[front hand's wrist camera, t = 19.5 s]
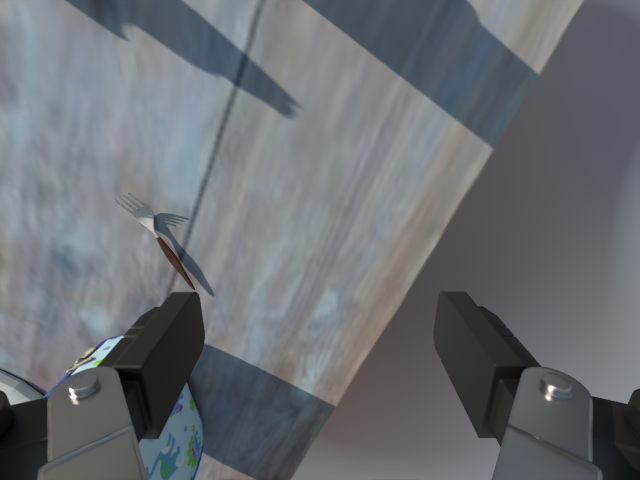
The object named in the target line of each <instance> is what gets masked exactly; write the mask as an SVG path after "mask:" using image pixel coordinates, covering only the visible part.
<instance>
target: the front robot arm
mask: <svg viewBox="0 0 640 480" xmlns="http://www.w3.org/2000/svg"><path fill="white" fill-rule="evenodd" d="M204 340H205V331H204V324H203V317H202V310H201V303H200V297H199V294H198V293H197V292H173V293H171V294H170V296H169V297H168V298H167V299H166V300H165V302H164V303H163V304H162V305H161V307H155V308H153V309H151V310H150V311H148V312H147V313H145V314H143V315H142V316H141V317H140V318H139V319H138V320H137V321H136V322H135V323H134V325H133V326H132V328H131V329H129V330H128V331H127V333H126V334H125V335H124V338H121V339H120V340H119V342H118V343H117V344H116V345H115V346H114V347H113V348H112V350H111V351H110V352H109V353H108V354H107V355H106V356H105V358H104V359H103V360H102V361H101V362H100V363H99V364H98V366H97V367H93V368H89V369H85V370H82V371H80V372H77V373H75V374H73V375H71V376H69V377H68V378H66V379H65V380H63V381H62V382H60V383H59V384H58V385H57V386H56V387H55V388H54V389H53V390H52V391H51V393H50V394H49V397H45V398H41V399H36V400H32V401H27V402H23V403H18V404H14V405H10V402H9V400H8V397H7V395H6V393H5V392H3V391H1V390H0V480H148V477H147V473H146V470H145V466H144V463H143V459H142V455H141V452H140V448H139V443H140V441H141V439H159V437H160V435H161V433H162V431H163V429H164V427H165V425H166V423H167V421H168V419H169V417H170V415H171V413H172V411H173V409H174V407H175V405H176V403H177V401H178V399H179V397H180V395H181V393H182V391H183V388H184V386H185V384H186V382H187V380H188V378H189V376H190V374H191V372H192V370H193V368H194V366H195V364H196V362H197V360H198V358H199V356H200V354H201V352H202V350H203V346H204ZM434 344H435V348H436V351H437V353H438V355H439V357H440V359H441V361H442V363H443V365H444V367H445V369H446V371H447V373H448V375H449V377H450V380H451V382H452V384H453V386H454V388H455V390H456V392H457V394H458V396H459V398H460V400H461V402H462V404H463V406H464V408H465V410H466V412H467V414H468V416H469V418H470V420H471V423H472V425H473V427H474V429H475V431H476V433H477V435H478V437H479V438H496V439H497V441H498V443H499V445H500V447H501V448H500V452H499V456H498V459H497V463H496V466H495V470H494V473H493V477H492V480H640V389H637V390H635V391H634V392H633V393H632V395H631V398H630V400H629V402H628V404H624V403H619V402H615V401H611V400H606V399H602V398H597V397H593V396H591V395H590V393H589V391H588V390H587V389H586V388H585V387H584V386H583V385H582V384H581V383H580V382H578V381H577V380H575V379H574V378H572V377H571V376H569V375H567V374H565V373H563V372H560V371H558V370H555V369H551V368H547V367H541V366H540V364H539V363H538V362H537V361H536V360H535V359H534V358H533V356H532V355H531V354H530V353H529V352H528V351H527V350H526V348H525V347H524V346H523V345H522V344H521V343H520V341H519V340H518V339H517V338H516V337H514V335H513V333H512V332H511V331H510V330H509V329H508V328H506V325H505V324H504V323H503V322H502V321H501V320H500V318H499V317H498V316H497V315H495V314H494V313H492V312H491V311H489V310H487V309H486V308H484V307H482V306H477V305H476V304H475V303H474V301H473V300H472V299H471V298H470V296H469V295H468V294H467V293H466V292H464V291H442V292H441V293H440V294H439V297H438V304H437V311H436V318H435V325H434Z"/></svg>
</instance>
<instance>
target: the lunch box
mask: <svg viewBox="0 0 640 480" xmlns="http://www.w3.org/2000/svg"><path fill="white" fill-rule="evenodd" d="M121 338H124V336H120V337H111V338H109V339H106V340H104V341H102V342H100V343H99V344H97V345H96V346H90V347H89V348H88V349H87V350H86V351H85V352H84V353H83V354H82V355H81V356H80V358H79V359H78V360H77V361H76V362H75V364H74V365H72V366H70V367H69V368H68V371H66V372H67V374H66V375H65V376H64V377H63V378H62V379H61V380H60V381H59V382H58V383H57V384H56V385H55V386H54V387H53V388H52V389H51V390H50V391H49V392H48V393H47V394H46V395H45V396H44V397H43V398H45V397H49V394H50V393H51V391H52V390H53V389H54V388H55V387H56V386H57V385H58V384H59V383H60V382H62V381H63V380H65V379H66V378H68V377H69V376H71V375H73V374H75V373H77V372H80V371H82V370H85V369H89V368H93V367H97V366H98V364H99V363H100V362H101V361H102V360H103V359H104V358H105V356H106V355H107V354H108V353H109V352H110V351H111V350H112V348H113V347H114V346H115V345H116V344H117V343H118V342H119V340H120V339H121ZM203 437H204V433H203V422H202V419H201V416H200V414H199V411H198V409H197V407H196V404H195V402H194V400H193V397H192V395H191V392H190V390H189V387H188V384H187V382H186V384H185V386H184V388H183V391H182V393H181V395H180V397H179V399H178V401H177V403H176V405H175V407H174V409H173V411H172V413H171V415H170V417H169V419H168V421H167V423H166V425H165V427H164V429H163V431H162V433H161V435H160V437H159V439H141V441H140V443H139V448H140V452H141V455H142V459H143V463H144V466H145V470H146V473H147V477H148V480H194V479H195V476H196V473H197V470H198V467H199V463H200V460H201V456H202V451H203Z"/></svg>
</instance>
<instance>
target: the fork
mask: <svg viewBox="0 0 640 480" xmlns="http://www.w3.org/2000/svg"><path fill="white" fill-rule="evenodd" d="M127 193H128V194H129V195H131V194H130V193H129V192H127ZM123 196H124V197H126V196H125V195H123ZM131 196H132V197H133V198H134V199H135V200H137V201H138V202H139V203H140V204H141V205H142V206H143V207H141V206H139V205H138V204H136V203H135V202H134V201H132V200H131V199H129V198H128V197H126V198H127V199H128V200H129V201H131V202H132V203H133V204H134V205H135V206H136V207H137V208H138V209H136V208H134V207H133V206H132V205H130V204H129V203H127V202H126V201H124V200H123V199H121V198H120V197H119V199H121V200H122V201H123V202H125V203H126V204H127V205H128V206H129V207H131V208H132V209H133V210H134V212H133V211H131V210H130V209H128V208H127V207H125V206H124V205H122V204H121V203H119V202H118V201H116V200H115V199H114V201H116V202H117V203H118V204H120V205H121V206H122V207H123V208H125V209H126V210H127V211H128V212H129V213H130V214H131V215H132V216H133V217H134V218H135V219H136V220H138V221H139V222H140V223H141V224H143V225H144V226H146V227H147V228H148V229H150V230H151V231H152V233H153V234H154V235H155V237H156V239H157V241H158V243H159V244H160V246H161V248H162V250H163V252H164V254H165V255H166V257H167V258H168V260H169V261H170V263H171V264H172V265H173V266H174V267H175V269H176V270H177V271H178V272H179V273H180V274H181V276H182V277H183V278H184V279H185V281H186V282H187V283H188V284H189V285H190V286H191V288H192V289H193V290H195V288H194V286H193V284H192V282H191V281H190V279H189V277H188V276H187V274H186V272H185V271H184V269H183V267H182V265H181V263H180V261H179V260H178V258H177V257H176V255H175V254H174V253H173V251H172V250H171V249H170V248H169V247H168V246H167V244H166V243H165V242H164V241H163V240H162V239H161V238H160V236H159V235H158V234H157V233H156V231H155V228H154V215H153V212H152V211H151V209H150V208H149V207H147V206H146V205H145V204H144V203H142V202H141V201H140V200H138V199H137V198H136V197H134V196H133V195H131Z"/></svg>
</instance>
